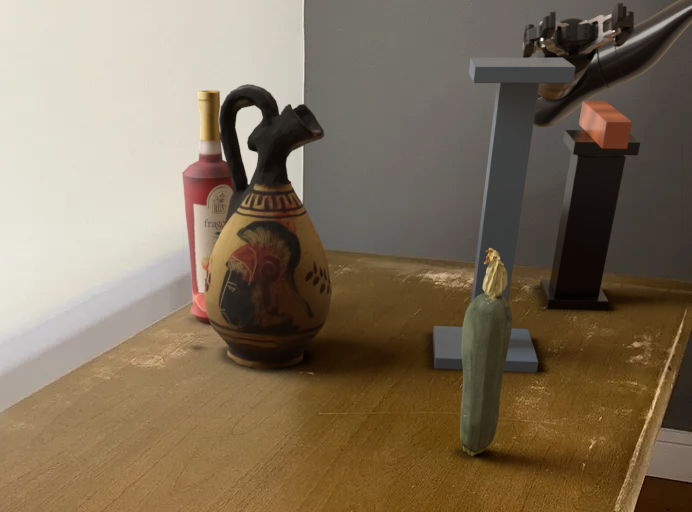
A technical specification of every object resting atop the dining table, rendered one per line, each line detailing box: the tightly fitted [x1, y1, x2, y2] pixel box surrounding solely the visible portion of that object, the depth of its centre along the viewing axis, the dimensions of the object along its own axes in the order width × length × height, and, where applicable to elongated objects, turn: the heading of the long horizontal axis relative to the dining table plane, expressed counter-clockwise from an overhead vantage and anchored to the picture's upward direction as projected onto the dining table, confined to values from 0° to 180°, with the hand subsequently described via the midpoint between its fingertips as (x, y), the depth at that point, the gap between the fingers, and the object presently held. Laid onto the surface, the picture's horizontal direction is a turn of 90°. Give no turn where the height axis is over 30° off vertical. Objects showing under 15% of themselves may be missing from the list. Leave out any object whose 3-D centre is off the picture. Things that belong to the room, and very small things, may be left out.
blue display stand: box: [432, 57, 576, 373], centre depth 111 cm, size 12×12×32 cm
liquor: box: [181, 89, 233, 324], centre depth 125 cm, size 7×7×28 cm
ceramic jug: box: [204, 83, 333, 370], centre depth 112 cm, size 17×15×30 cm
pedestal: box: [539, 129, 641, 312], centre depth 131 cm, size 10×8×22 cm
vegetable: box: [459, 248, 513, 457], centre depth 90 cm, size 4×4×20 cm
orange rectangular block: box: [578, 100, 633, 149], centre depth 125 cm, size 20×3×3 cm, turn 172°
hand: (586, 15), depth 126 cm, fingers open, 8 cm apart
